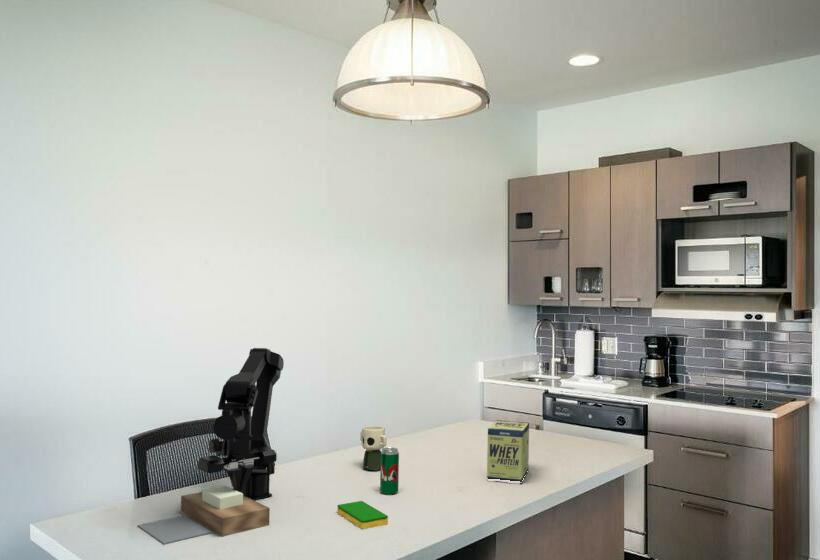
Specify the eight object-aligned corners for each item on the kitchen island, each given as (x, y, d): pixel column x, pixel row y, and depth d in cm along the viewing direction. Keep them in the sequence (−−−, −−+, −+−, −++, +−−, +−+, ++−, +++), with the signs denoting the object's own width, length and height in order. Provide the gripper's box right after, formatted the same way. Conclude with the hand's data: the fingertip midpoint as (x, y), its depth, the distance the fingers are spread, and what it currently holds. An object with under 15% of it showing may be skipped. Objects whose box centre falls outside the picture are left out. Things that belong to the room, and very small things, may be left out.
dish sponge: (361, 509, 178) (361, 500, 178) (388, 525, 166) (388, 515, 166) (336, 514, 174) (336, 504, 174) (362, 531, 162) (362, 520, 162)
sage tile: (224, 495, 173) (224, 485, 173) (242, 504, 167) (243, 493, 167) (202, 500, 169) (202, 490, 169) (219, 509, 163) (220, 498, 163)
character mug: (352, 468, 217) (352, 426, 217) (368, 464, 222) (368, 423, 223) (377, 474, 210) (378, 431, 210) (393, 470, 215) (394, 428, 215)
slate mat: (183, 516, 169) (183, 515, 169) (211, 533, 158) (211, 531, 158) (137, 526, 162) (137, 524, 162) (164, 544, 151) (164, 543, 151)
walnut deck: (225, 502, 180) (225, 487, 181) (269, 524, 164) (269, 507, 164) (180, 512, 172) (181, 495, 172) (222, 536, 156) (222, 518, 156)
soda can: (400, 490, 194) (401, 447, 194) (395, 496, 189) (396, 451, 189) (383, 489, 195) (384, 446, 195) (377, 494, 190) (378, 450, 190)
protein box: (486, 481, 205) (487, 428, 205) (495, 468, 220) (496, 419, 220) (521, 485, 202) (522, 431, 202) (529, 471, 216) (529, 421, 217)
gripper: (255, 421, 183) (254, 481, 183) (188, 430, 170) (187, 494, 170) (278, 428, 175) (277, 490, 175) (209, 438, 162) (208, 505, 162)
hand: (237, 494), depth 171 cm, fingers closed
